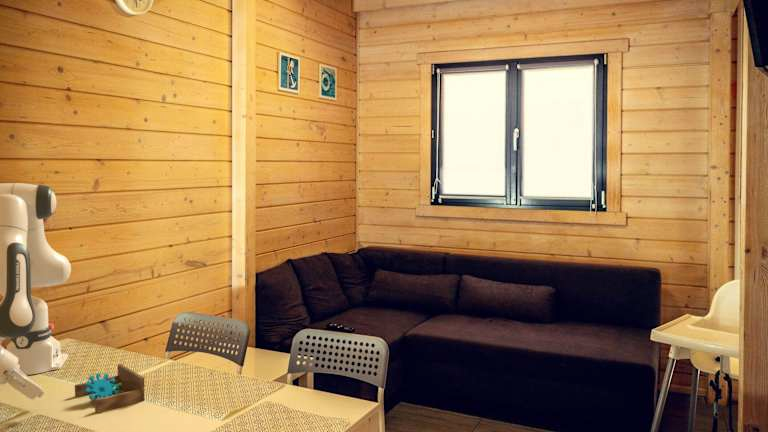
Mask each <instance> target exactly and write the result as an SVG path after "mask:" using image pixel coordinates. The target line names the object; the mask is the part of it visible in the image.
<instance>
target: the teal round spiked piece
mask: <svg viewBox="0 0 768 432" xmlns="http://www.w3.org/2000/svg"><path fill="white" fill-rule="evenodd" d="M101 376H102V373H99V372H97V373H96V375H95V376H94V375H91V376H89V377H88V380H87V381H85V383H86V384H85V385H86V386H89V387H91V388H92V390H91V389H90V388H86V390H85V392H86V393H89V392H92V394H88V395H89V396H88V398H89V399H90V400H93V399H94V400H95V399H100V398H104V397H108V396H112V395H116V394H120V391H119V389H121V388H120V387H121V385H122V383H121V382H120V383H118V384H111V383H114V382H115V379H114V378H112V379H111V380H105V379H107V378H109V377H110V375H109V374H107V373H105V374H104V375H103V378H101ZM95 377H96V380H97V381H95ZM90 381H92V383H93V385H92V384H91V383H90ZM110 382H111V383H110Z"/></svg>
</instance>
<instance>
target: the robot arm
mask: <svg viewBox="0 0 768 432" xmlns="http://www.w3.org/2000/svg"><path fill="white" fill-rule="evenodd" d="M56 208H57V196H56V194H55V191H54V189H53V188H51V186H49V185H45V184H39V185H38V184H31V183H22V182H13V183H11V182H10V183H8V182H7V183H5V182H4V183H2V182H1V183H0V295H1V296H2V299H1V301H0V385H6V384H8V385H9V386H10V387H12V389H14V390H15V391H18V392H19V393H21V394H22V395H23V396H25V397H26V398H28V399H29V400H31V401H33V400H35V399H36V398H37V397H38V398H42V397H43V396H44V395H45V392H44V391H43V388H42V387H41V386H40V385H39V384H38V383H37V382H36V381H34V380H32V378H30V377H29V376H31V375H36V374H43V373H46V372H50V371H54V370H55V371H56V370H60V369H61V368H62V367H63V365H64V364H65V362H66V360H67V359H68V358H69V354H68V353H66V352H62V350H61V349H62V347H61V346H62V345H61V342H60V341H59V340H57V339H56V338H54V337H53V336H52V331H53V330H54V327H55V326H54V324H53V323H49V307H48V304H47V302H46V301H45V300H43V299H42V298H39V297H38V296H37V297H36V296H34V295H32V290H31V289H32V288H44V287H52V286H58V285H61V284H65V283H66V282H67V281H68V280H69V278H70V275H71V273H72V265H71V263H70V260H69V259H68V258H67V257H66V256H65V255H63V254H61V253H60V252H57V251H55V250H54V249H53V248H52V246H50V244H49V242H48V241H47V239H46V233H45V227H44V226H45V225H44V219H48V218H50V217H52V216H53V215H54V212H55V210H56ZM7 339H8V340H9V341H10V342H9V343H8V344H7V345H6V348H5V347H3V346H2V343H3V342H4V340H7Z"/></svg>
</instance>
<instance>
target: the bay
mask: <svg viewBox="0 0 768 432" xmlns="http://www.w3.org/2000/svg"><path fill="white" fill-rule="evenodd" d="M112 378H114V379H115V382H114V383H111V382H110V383H111V384H118V383H120V382H121V383H122V385H121V387H120V388H119V389H122V390H123V391H124V392H121V393H120V392H119V394H116V395H114V394H113V395H112V396H108V397H103V398H100V397H99V398H100V399H98V398H96V399H95V398H94V412H95V413H101V412H104V411H108V410H112V409H116V408H120V407H124V406H127V405H131V404H132V405H133V404H135V403H139V402H143V401H144V402H145V377H144V376H142V375H141V374H139V373H138V372H135V371H134V370H132V369H130V368H128V367H127V366H125V365H123V364H121V363H120V364H117V375H115V376H109V377H108V378H107V379H105V380H111V379H112ZM94 380H95V379H94ZM89 381H90V383H91V384H92V385H93V383H92V381H91V380H89ZM95 381H97V379H96V380H95ZM85 384H86V382H82V383H77V384H74V397H75V398H78V397H79V398H80V397H83V396H87V395H90V394H93V393H92V392H89V393H86V392H85V390H86V388H90V389H91V390H92V388H91V387H89V386H86V385H85Z"/></svg>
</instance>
